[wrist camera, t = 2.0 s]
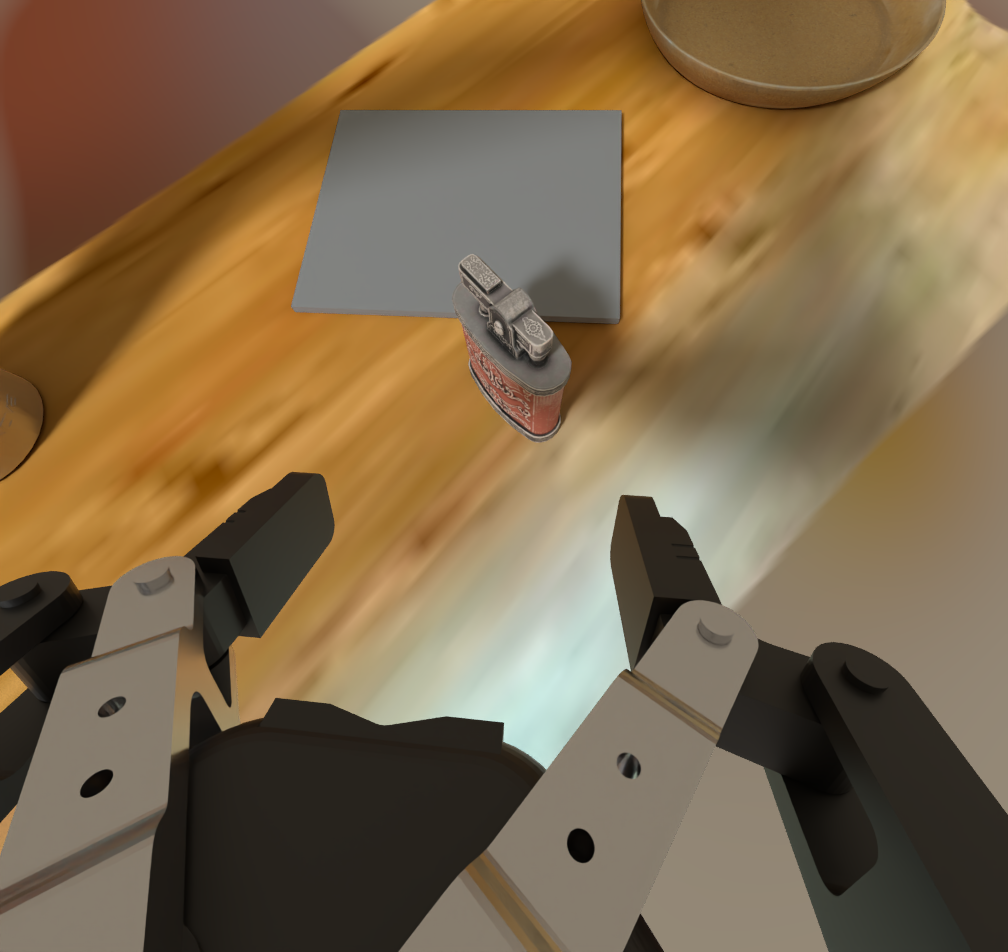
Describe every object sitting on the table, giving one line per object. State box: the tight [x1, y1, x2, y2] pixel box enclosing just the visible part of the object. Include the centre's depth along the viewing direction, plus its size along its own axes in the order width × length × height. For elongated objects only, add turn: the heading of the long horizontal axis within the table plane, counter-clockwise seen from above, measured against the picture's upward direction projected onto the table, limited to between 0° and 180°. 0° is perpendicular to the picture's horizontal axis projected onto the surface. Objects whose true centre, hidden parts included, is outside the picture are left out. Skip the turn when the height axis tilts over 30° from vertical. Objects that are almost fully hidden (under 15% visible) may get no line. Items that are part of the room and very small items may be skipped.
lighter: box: [452, 254, 571, 442], centre depth 24 cm, size 8×3×10 cm, turn 39°
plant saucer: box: [641, 0, 946, 109], centre depth 36 cm, size 24×24×3 cm
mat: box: [291, 110, 621, 324], centre depth 33 cm, size 24×20×1 cm
